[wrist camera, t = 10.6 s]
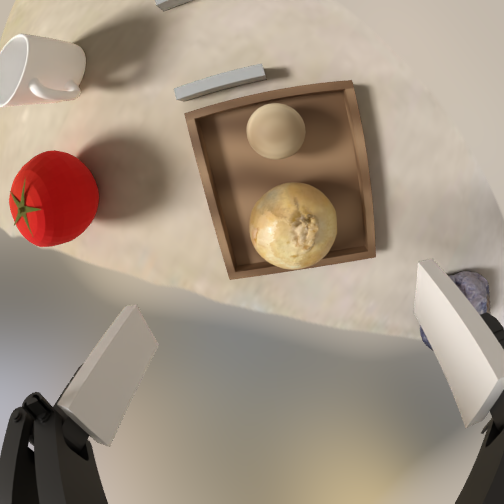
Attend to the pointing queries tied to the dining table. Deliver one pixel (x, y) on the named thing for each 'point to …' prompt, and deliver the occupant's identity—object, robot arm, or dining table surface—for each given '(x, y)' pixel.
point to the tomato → (53, 198)
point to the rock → (469, 293)
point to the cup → (40, 71)
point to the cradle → (215, 82)
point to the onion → (293, 225)
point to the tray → (285, 170)
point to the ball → (276, 131)
